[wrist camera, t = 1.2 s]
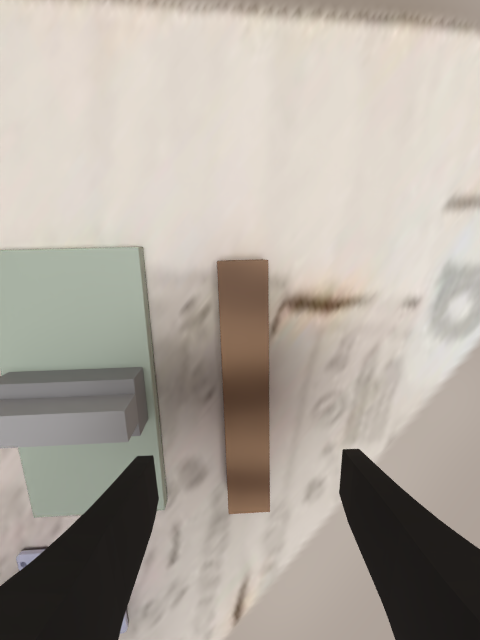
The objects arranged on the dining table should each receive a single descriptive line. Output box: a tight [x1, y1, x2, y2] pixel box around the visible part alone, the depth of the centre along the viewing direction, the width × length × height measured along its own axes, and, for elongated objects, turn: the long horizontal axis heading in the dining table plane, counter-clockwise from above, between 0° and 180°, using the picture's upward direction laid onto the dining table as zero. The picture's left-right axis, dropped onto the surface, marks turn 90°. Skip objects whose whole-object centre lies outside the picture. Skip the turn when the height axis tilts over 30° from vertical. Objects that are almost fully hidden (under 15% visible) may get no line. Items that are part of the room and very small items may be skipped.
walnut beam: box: [217, 259, 270, 514], centre depth 20 cm, size 18×3×3 cm, turn 2°
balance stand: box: [0, 247, 167, 518], centre depth 19 cm, size 20×10×5 cm, turn 1°
